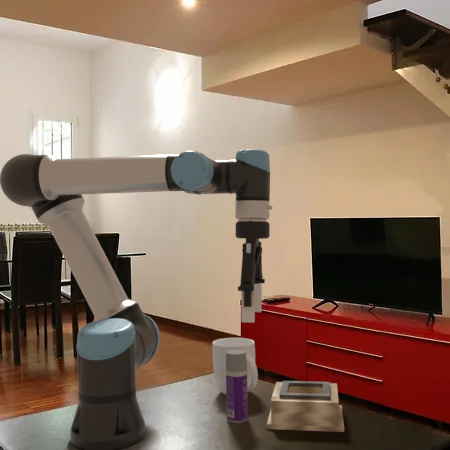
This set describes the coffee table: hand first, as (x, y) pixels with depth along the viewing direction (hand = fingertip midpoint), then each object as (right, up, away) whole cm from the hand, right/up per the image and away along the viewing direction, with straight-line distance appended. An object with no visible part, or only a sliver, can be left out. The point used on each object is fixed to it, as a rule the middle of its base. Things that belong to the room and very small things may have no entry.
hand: (251, 316), depth 123 cm
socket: (+12, -23, 0) cm, 25 cm away
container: (-3, -23, +1) cm, 23 cm away
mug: (-3, -23, +20) cm, 31 cm away
